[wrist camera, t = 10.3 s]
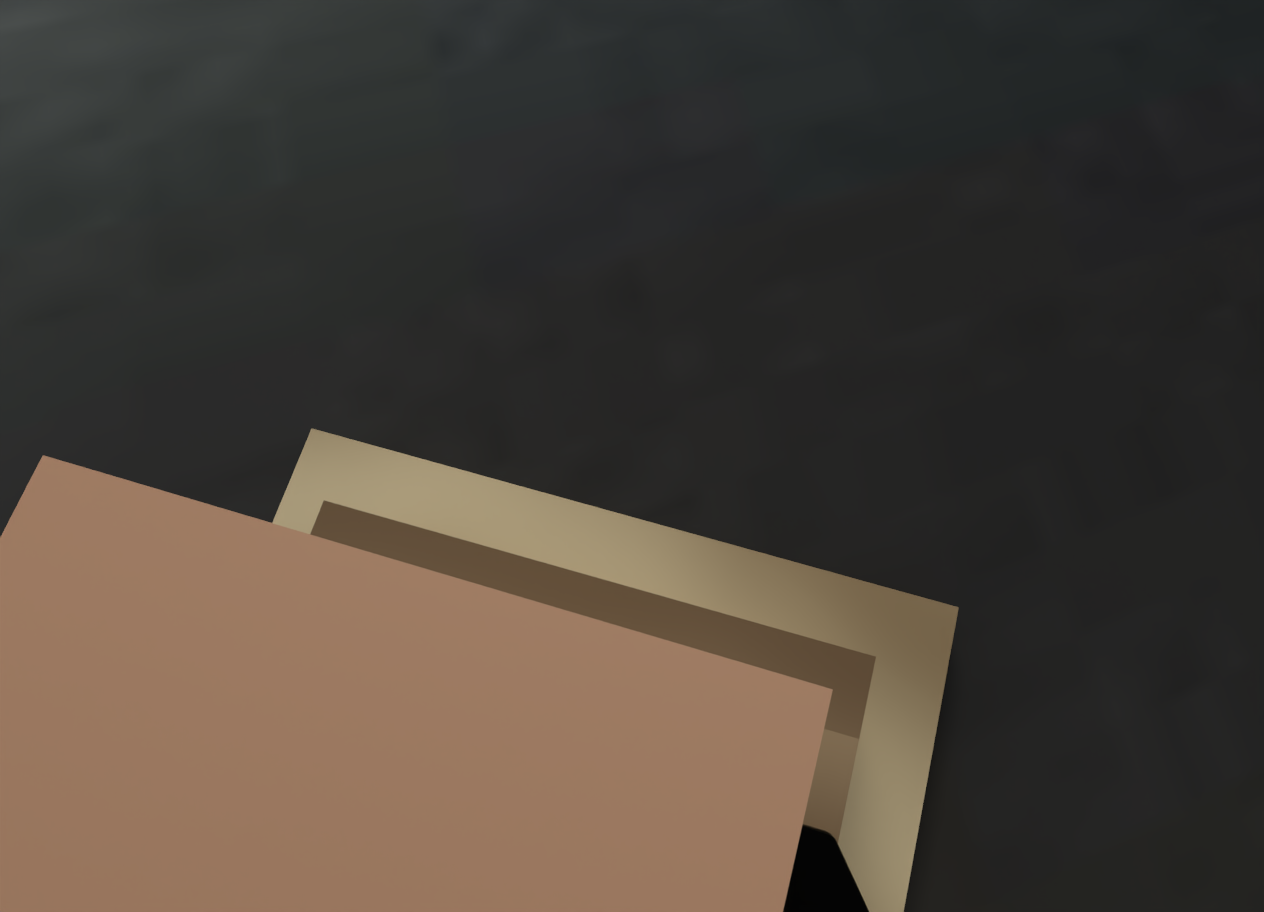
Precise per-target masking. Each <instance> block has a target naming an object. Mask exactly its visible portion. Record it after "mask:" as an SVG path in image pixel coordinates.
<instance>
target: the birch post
mask: <svg viewBox="0 0 1264 912" xmlns="http://www.w3.org/2000/svg"><path fill="white" fill-rule="evenodd" d="M832 691H833V689H830V688H826V687H823V686H819V685H816V684H813V683H809V682H806V681H803V680H799V679H796V678H792V677H789V676H786V675H782V674H779V673H776V672H772V671H769V670H765V669H762V668H759V667H755V666H752V665H749V664H745V663H742V662H739V661H735V660H732V659H728V658H725V657H722V656H718V655H715V654H712V653H708V652H705V651H701V650H698V649H695V648H691V647H688V646H685V645H681V644H678V643H674V642H671V641H668V640H664V639H661V638H658V637H654V636H651V635H647V634H644V633H641V632H637V631H634V630H631V629H627V628H624V627H620V626H617V625H614V624H610V623H607V622H604V621H600V620H597V619H593V618H590V617H587V616H583V615H580V614H577V613H573V612H570V611H566V610H563V609H560V608H556V607H553V606H550V605H546V604H543V603H540V602H536V601H533V600H529V599H526V598H523V597H519V596H516V595H513V594H509V593H506V592H502V591H499V590H496V589H492V588H489V587H486V586H482V585H479V584H475V583H472V582H469V581H465V580H462V579H459V578H455V577H452V576H448V575H445V574H442V573H438V572H435V571H432V570H428V569H425V568H421V567H418V566H415V565H411V564H408V563H405V562H401V561H398V560H394V559H391V558H388V557H384V556H381V555H378V554H374V553H371V552H368V551H364V550H361V549H357V548H354V547H351V546H347V545H344V544H341V543H337V542H334V541H330V540H327V539H324V538H320V537H317V536H314V535H310V534H307V533H303V532H300V531H297V530H293V529H290V528H287V527H283V526H280V525H276V524H273V523H270V522H266V521H263V520H260V519H256V518H253V517H249V516H246V515H243V514H239V513H236V512H233V511H229V510H226V509H222V508H219V507H216V506H212V505H209V504H206V503H202V502H199V501H195V500H192V499H189V498H185V497H182V496H179V495H175V494H172V493H169V492H165V491H162V490H158V489H155V488H152V487H148V486H145V485H142V484H138V483H135V482H131V481H128V480H125V479H121V478H118V477H115V476H111V475H108V474H104V473H101V472H98V471H94V470H91V469H88V468H84V467H81V466H77V465H74V464H71V463H67V462H64V461H61V460H57V459H54V458H50V457H47V456H44V455H43V456H42V458H41V460H40V462H39V464H38V466H37V468H36V470H35V472H34V474H33V476H32V478H31V480H30V481H29V483H28V485H27V487H26V489H25V491H24V493H23V495H22V497H21V499H20V501H19V503H18V505H17V507H16V508H15V510H14V512H13V514H12V516H11V518H10V520H9V522H8V524H7V526H6V528H5V530H4V532H3V534H2V536H1V537H0V912H783V909H784V905H785V900H786V896H787V891H788V887H789V883H790V878H791V874H792V869H793V865H794V860H795V856H796V851H797V847H798V842H799V838H800V834H801V829H802V825H803V820H804V816H805V811H806V807H807V802H808V798H809V794H810V789H811V785H812V780H813V776H814V771H815V767H816V762H817V758H818V753H819V749H820V745H821V740H822V736H823V731H824V727H825V722H826V718H827V713H828V709H829V705H830V700H831V696H832Z"/></svg>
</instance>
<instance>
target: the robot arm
mask: <svg viewBox="0 0 1264 912" xmlns="http://www.w3.org/2000/svg"><path fill="white" fill-rule="evenodd" d="M783 912H869V910H868V908H867V906H866V904H865V901H864V899H863V897H862V895H861V893H860V891H859V888H858V886H857V884H856V882H855V880H854V878H853V876H852V873H851V871H850V869H849V867H848V865H847V863H846V860H845V858H844V856H843V854H842V852H841V850H840V847H839V845H838V843H837V841H836V839H835V838H834V837H833V836H832V834H830V833H829V832H827V831H825V830H821V829H818V828H815V827H812V826H808V825H805V824H803V825H802V829H801V834H800V838H799V842H798V847H797V851H796V856H795V860H794V865H793V869H792V874H791V878H790V883H789V887H788V891H787V896H786V900H785V905H784V909H783Z"/></svg>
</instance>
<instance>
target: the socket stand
mask: <svg viewBox="0 0 1264 912" xmlns="http://www.w3.org/2000/svg"><path fill="white" fill-rule="evenodd" d="M273 524H276V525H280V526H283V527H287V528H290V529H293V530H297V531H300V532H303V533H307V534H310V535H314V536H317V537H320V538H324V539H327V540H330V541H334V542H337V543H341V544H344V545H347V546H351V547H354V548H357V549H361V550H364V551H368V552H371V553H374V554H378V555H381V556H384V557H388V558H391V559H394V560H398V561H401V562H405V563H408V564H411V565H415V566H418V567H421V568H425V569H428V570H432V571H435V572H438V573H442V574H445V575H448V576H452V577H455V578H459V579H462V580H465V581H469V582H472V583H475V584H479V585H482V586H486V587H489V588H492V589H496V590H499V591H502V592H506V593H509V594H513V595H516V596H519V597H523V598H526V599H529V600H533V601H536V602H540V603H543V604H546V605H550V606H553V607H556V608H560V609H563V610H566V611H570V612H573V613H577V614H580V615H583V616H587V617H590V618H593V619H597V620H600V621H604V622H607V623H610V624H614V625H617V626H620V627H624V628H627V629H631V630H634V631H637V632H641V633H644V634H647V635H651V636H654V637H658V638H661V639H664V640H668V641H671V642H674V643H678V644H681V645H685V646H688V647H691V648H695V649H698V650H701V651H705V652H708V653H712V654H715V655H718V656H722V657H725V658H728V659H732V660H735V661H739V662H742V663H745V664H749V665H752V666H755V667H759V668H762V669H765V670H769V671H772V672H776V673H779V674H782V675H786V676H789V677H792V678H796V679H799V680H803V681H806V682H809V683H813V684H816V685H819V686H823V687H826V688H830V689H833V691H832V696H831V700H830V705H829V709H828V713H827V718H826V722H825V727H824V731H823V736H822V740H821V745H820V749H819V753H818V758H817V762H816V767H815V771H814V776H813V780H812V785H811V789H810V794H809V798H808V802H807V807H806V811H805V816H804V820H803V824H805V825H808V826H812V827H815V828H818V829H821V830H825V831H827V832H829V833H830V834H832V836H833V837H834V838H835V839H836V841H837V843H838V845H839V847H840V850H841V852H842V854H843V856H844V858H845V860H846V863H847V865H848V867H849V869H850V871H851V873H852V876H853V878H854V880H855V882H856V884H857V886H858V888H859V891H860V893H861V895H862V897H863V899H864V901H865V904H866V906H867V908H868V910H869V912H904V906H905V901H906V895H907V890H908V884H909V879H910V873H911V868H912V862H913V857H914V851H915V846H916V840H917V835H918V829H919V824H920V818H921V813H922V807H923V801H924V796H925V790H926V785H927V779H928V774H929V768H930V763H931V757H932V752H933V746H934V741H935V735H936V730H937V724H938V719H939V713H940V707H941V702H942V696H943V691H944V685H945V680H946V674H947V669H948V663H949V658H950V652H951V647H952V641H953V636H954V630H955V625H956V619H957V614H958V608H959V607H955V606H951V605H948V604H944V603H941V602H937V601H933V600H930V599H926V598H923V597H919V596H915V595H912V594H908V593H904V592H901V591H897V590H894V589H890V588H886V587H883V586H879V585H876V584H872V583H868V582H865V581H861V580H857V579H854V578H850V577H847V576H843V575H839V574H836V573H832V572H829V571H825V570H821V569H818V568H814V567H810V566H807V565H803V564H800V563H796V562H792V561H789V560H785V559H782V558H778V557H774V556H771V555H767V554H763V553H760V552H756V551H753V550H749V549H745V548H742V547H738V546H735V545H731V544H727V543H724V542H720V541H716V540H713V539H709V538H706V537H702V536H698V535H695V534H691V533H688V532H684V531H680V530H677V529H673V528H669V527H666V526H662V525H659V524H655V523H651V522H648V521H644V520H641V519H637V518H633V517H630V516H626V515H622V514H619V513H615V512H612V511H608V510H604V509H601V508H597V507H594V506H590V505H586V504H583V503H579V502H575V501H572V500H568V499H565V498H561V497H557V496H554V495H550V494H547V493H543V492H539V491H536V490H532V489H528V488H525V487H521V486H518V485H514V484H510V483H507V482H503V481H500V480H496V479H492V478H489V477H485V476H481V475H478V474H474V473H471V472H467V471H463V470H460V469H456V468H453V467H449V466H445V465H442V464H438V463H435V462H431V461H427V460H424V459H420V458H416V457H413V456H409V455H406V454H402V453H398V452H395V451H391V450H388V449H384V448H380V447H377V446H373V445H369V444H366V443H362V442H359V441H355V440H351V439H348V438H344V437H341V436H337V435H333V434H330V433H326V432H322V431H319V430H315V429H311V431H310V434H309V436H308V439H307V441H306V443H305V446H304V448H303V451H302V453H301V455H300V458H299V460H298V463H297V465H296V467H295V470H294V472H293V475H292V477H291V479H290V482H289V484H288V487H287V489H286V491H285V494H284V496H283V499H282V501H281V503H280V506H279V508H278V511H277V513H276V515H275V518H274V520H273Z"/></svg>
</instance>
